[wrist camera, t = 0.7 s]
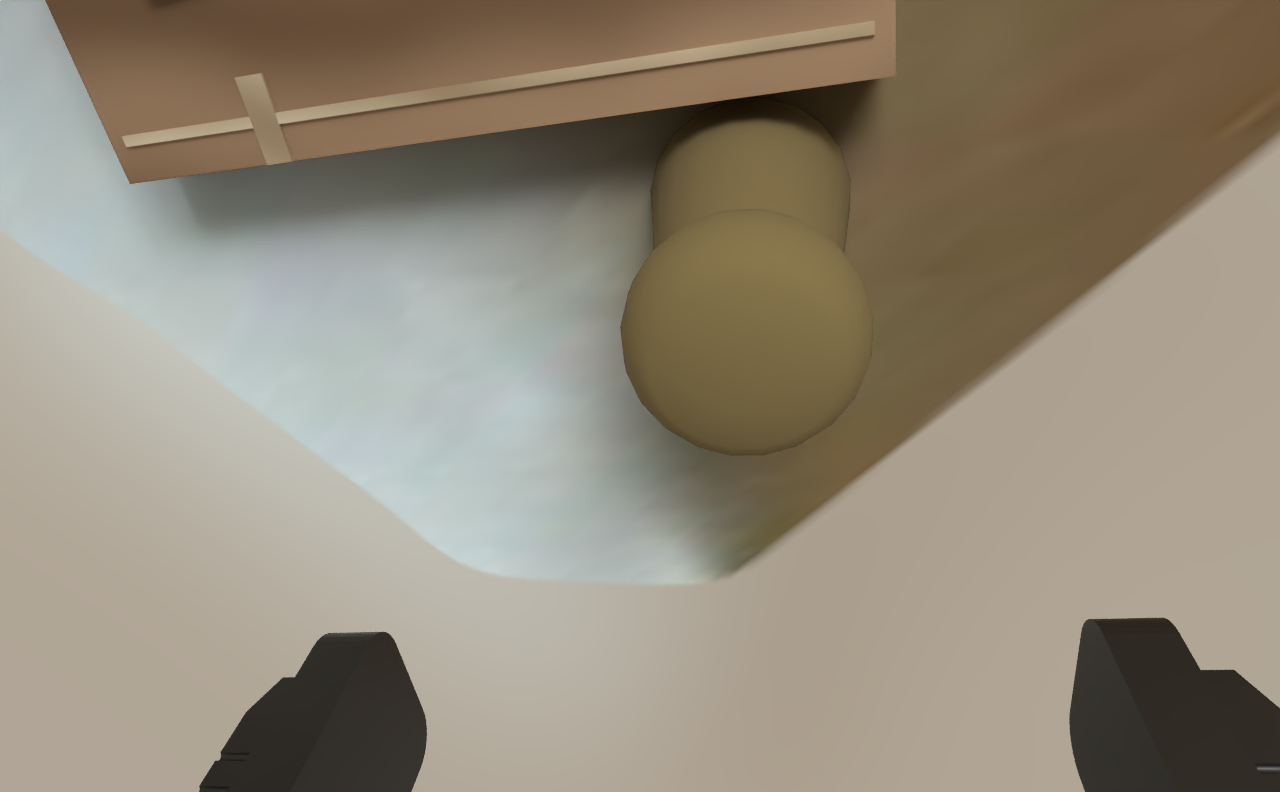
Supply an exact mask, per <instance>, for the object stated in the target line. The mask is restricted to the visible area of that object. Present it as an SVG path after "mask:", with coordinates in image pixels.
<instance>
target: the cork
mask: <svg viewBox="0 0 1280 792" xmlns="http://www.w3.org/2000/svg"><path fill="white" fill-rule="evenodd" d="M651 205H652V223H653V241H654V250H653V251H652V252H651V254H650V255H649V257H648V258H647V260H646V262H645V263H644V265H643V266H642V268H641V269H640V271H639V272H638V274H637V276H636V277H635V279H634V280H633V282H632V285H631V287H630V290H629V292H628V297H627V301H626V305H625V309H624V314H623V318H622V322H621V326H620V329H621V337H622V346H623V354H624V362H625V367H626V372H627V374H628V376H629V378H630V381H631V383H632V385H633V387H634V389H635V391H636V393H637V395H638V397H639V399H640V401H641V403H642V404H643V405H644V406H645V407H646V408H647V409H648V410H649V411H650V412H651V414H652V415H653V416H654V417H655V418H656V419H657V420H658V421H659V422H660V423H661V424H662V425H663V426H664V427H665V428H667V429H668V430H670V431H671V432H673V433H675V434H677V435H678V436H680V437H682V438H684V439H685V440H687V441H689V442H691V443H692V444H694V445H696V446H698V447H700V448H704V449H708V450H711V451H715V452H719V453H723V454H727V455H766V454H770V453H773V452H777V451H780V450H784V449H788V448H791V447H795V446H797V445H799V444H801V443H803V442H804V441H806V440H808V439H809V438H811V437H813V436H814V435H816V434H818V433H819V432H821V431H822V430H824V429H826V428H827V427H829V426H831V425H832V424H833V423H834V421H835V420H836V419H837V418H838V417H839V416H840V415H841V414H842V413H843V411H844V410H845V409H846V408H847V407H848V406H849V405H850V404H851V402H852V401H853V400H854V399H855V397H856V394H857V392H858V390H859V387H860V385H861V383H862V380H863V378H864V376H865V373H866V371H867V368H868V366H869V362H870V359H871V356H872V337H873V316H872V313H871V310H870V307H869V303H868V300H867V297H866V294H865V291H864V288H863V285H862V282H861V279H860V276H859V272H858V271H857V270H856V269H855V267H854V266H853V265H852V263H851V262H850V261H849V260H848V258H847V257H846V256H845V255H844V250H845V242H846V234H847V226H848V218H849V209H850V176H849V173H848V170H847V167H846V164H845V160H844V157H843V154H842V151H841V149H840V147H839V146H838V145H837V143H836V142H835V141H834V139H833V138H832V137H831V135H830V134H829V133H828V131H827V130H826V129H825V127H824V126H823V125H822V124H821V123H820V122H818V121H817V120H815V119H814V118H812V117H811V116H809V115H808V114H807V113H805V112H804V111H802V110H801V109H799V108H798V107H796V106H794V105H790V104H786V103H782V102H778V101H775V100H771V99H767V98H763V97H762V98H749V99H735V100H728V101H726V102H723V103H721V104H719V105H716V106H714V107H711V108H709V109H706V110H704V111H702V112H699V113H698V114H697V115H696V116H694V117H693V118H692V119H691V120H690V121H689V122H687V123H686V124H685V125H684V126H683V127H682V128H680V129H679V130H678V131H677V132H676V133H675V134H674V135H673V137H672V138H671V140H670V142H669V143H668V145H667V147H666V148H665V150H664V151H663V153H662V155H661V156H660V158H659V160H658V162H657V166H656V171H655V175H654V179H653V183H652V188H651Z"/></svg>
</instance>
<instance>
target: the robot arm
mask: <svg viewBox="0 0 1280 792" xmlns="http://www.w3.org/2000/svg"><path fill="white" fill-rule="evenodd" d="M426 727H427V726H426V719H425V715H424V712H423V709H422V706H421V704H420V701H419V699H418V696H417V694H416V692H415V689H414V687H413V684H412V682H411V680H410V677H409V674H408V672H407V670H406V667H405V665H404V662H403V660H402V657H401V655H400V653H399V650H398V648H397V645H396V643H395V641H394V639H393V638H392V637H391V635H389V634H388V633H386V632H362V633H361V632H360V633H328V634H325V635H324V636H322V637H321V638H320V639H319V640H318V641H317V642H316V644H315V645H314V647H313V648H312V650H311V652H310V653H309V655H308V656H307V658H306V660H305V661H304V663H303V665H302V667H301V668H300V670H299V672H298V673H297V675H296V677H294V678H293V677H292V678H291V677H289V678H282V679H281V680H280V681H279V682H278V683H277V684H276V685H275V686H273V687H272V688H271V689H270V690H269V691H268V692H267V693H266V694H265V695H264V696H263V697H262V698H261V699H260V700H259V701H258V702H257V703H255V704H254V705H253V706H252V707H251V708H250V709H249V710H248V711H247V712H246V713H245V715H244V716H243V718H242V719H241V721H240V723H239V724H238V726H237V727H236V729H235V731H234V732H233V734H232V735H231V737H230V738H229V740H228V742H227V743H226V745H225V746H224V748H223V749H222V751H221V759H220V760H219V761H215V762H214V764H213V765H212V767H211V769H210V770H209V772H208V773H207V775H206V776H205V778H204V780H203V781H202V783H201V785H200V786H199V787H200V791H199V792H411V791H412V789H413V786H414V783H415V781H416V778H417V776H418V773H419V771H420V768H421V765H422V762H423V758H424V754H425V749H426V737H427V728H426ZM1070 736H1071V743H1072V749H1073V754H1074V758H1075V763H1076V766H1077V769H1078V773H1079V776H1080V779H1081V781H1082V784H1083V787H1084V790H1085V792H1280V708H1279V707H1278V706H1276V705H1275V704H1274V703H1273V702H1272V701H1270V700H1269V699H1268V698H1267V697H1266V696H1264V695H1263V694H1262V693H1261V692H1260V691H1258V690H1257V689H1256V688H1255V687H1254V686H1252V685H1251V684H1250V683H1249V682H1248V681H1247V680H1245V679H1244V678H1243V677H1242V676H1241V675H1239V674H1238V673H1237V672H1236V671H1235V670H1200V668H1199V667H1198V665H1197V663H1196V661H1195V660H1194V658H1193V656H1192V654H1191V653H1190V651H1189V649H1188V647H1187V646H1186V644H1185V642H1184V640H1183V639H1182V637H1181V635H1180V633H1179V632H1178V630H1177V629H1176V627H1175V626H1174V625H1173V624H1172V623H1171V622H1170V621H1169V620H1168V619H1165V618H1128V619H1088V620H1086V622H1085V623H1084V625H1083V627H1082V632H1081V638H1080V645H1079V652H1078V660H1077V666H1076V673H1075V681H1074V687H1073V694H1072V701H1071V708H1070Z"/></svg>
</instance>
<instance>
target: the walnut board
mask: <svg viewBox="0 0 1280 792" xmlns="http://www.w3.org/2000/svg"><path fill="white" fill-rule="evenodd" d="M45 1H46V3H47V5H48V7H49V9H50V11H51V14H52V16H53V18H54V20H55V22H56V24H57V27H58V29H59V31H60V33H61V35H62V37H63V40H64V42H65V44H66V46H67V48H68V50H69V53H70V55H71V57H72V59H73V61H74V63H75V66H76V68H77V70H78V72H79V74H80V76H81V79H82V81H83V83H84V85H85V87H86V89H87V92H88V94H89V96H90V98H91V100H92V102H93V105H94V107H95V109H96V111H97V113H98V115H99V118H100V120H101V122H102V124H103V126H104V128H105V131H106V133H107V135H108V137H109V139H110V141H111V144H112V146H113V148H114V150H115V152H116V154H117V157H118V159H119V161H120V163H121V165H122V167H123V170H124V172H125V174H126V176H127V178H128V180H129V183H130V184H134V183H141V182H148V181H155V180H162V179H169V178H176V177H183V176H190V175H197V174H204V173H212V172H219V171H226V170H233V169H240V168H247V167H254V166H261V165H273V164H280V163H287V162H293V161H297V160H304V159H311V158H318V157H325V156H332V155H339V154H346V153H353V152H360V151H368V150H375V149H382V148H389V147H396V146H403V145H410V144H417V143H424V142H431V141H438V140H446V139H453V138H460V137H467V136H474V135H481V134H488V133H495V132H502V131H509V130H516V129H524V128H531V127H538V126H545V125H552V124H559V123H566V122H573V121H580V120H587V119H594V118H602V117H609V116H616V115H623V114H630V113H637V112H644V111H651V110H658V109H665V108H672V107H680V106H687V105H694V104H701V103H708V102H715V101H722V100H729V99H736V98H743V97H750V96H758V95H765V94H772V93H779V92H786V91H793V90H800V89H807V88H814V87H821V86H828V85H835V84H843V83H850V82H857V81H864V80H871V79H878V78H885V77H892V76H896V6H895V0H45Z"/></svg>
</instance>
